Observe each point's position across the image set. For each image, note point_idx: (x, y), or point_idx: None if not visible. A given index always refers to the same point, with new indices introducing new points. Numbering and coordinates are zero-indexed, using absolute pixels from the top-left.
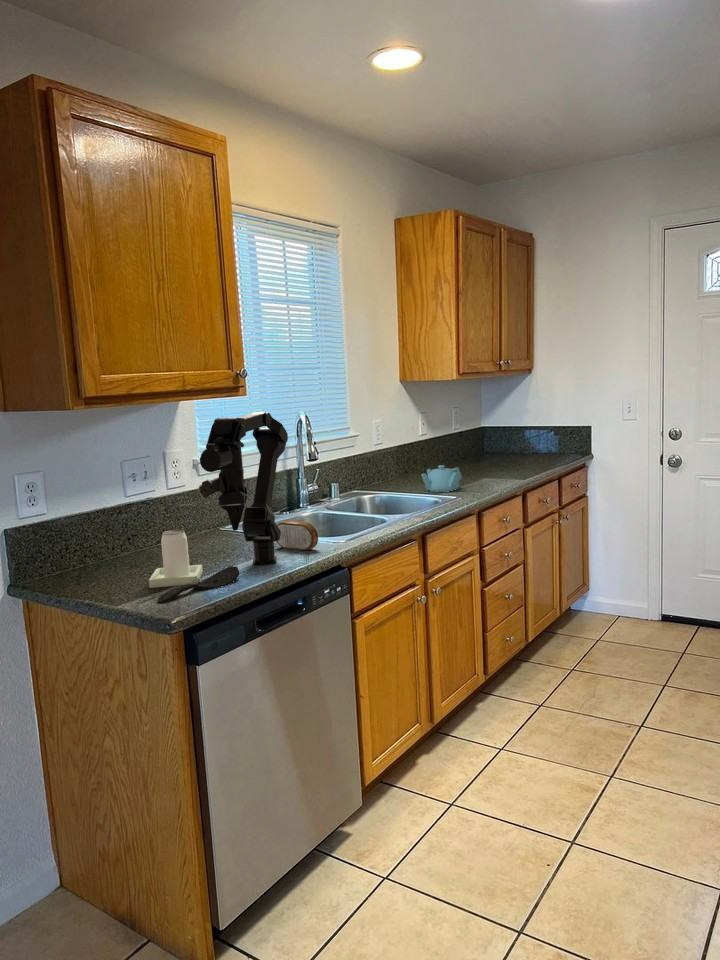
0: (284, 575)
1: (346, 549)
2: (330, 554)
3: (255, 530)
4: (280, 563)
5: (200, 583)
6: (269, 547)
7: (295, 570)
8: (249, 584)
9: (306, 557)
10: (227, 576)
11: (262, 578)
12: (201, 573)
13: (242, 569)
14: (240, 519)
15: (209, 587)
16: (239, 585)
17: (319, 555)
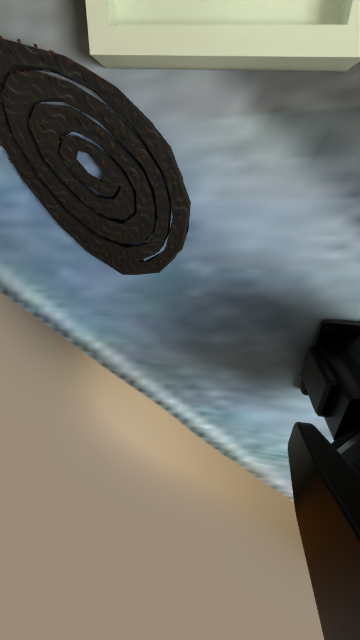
0: (139, 390)
1: None
2: None
3: (352, 457)
4: (295, 398)
5: (74, 87)
6: (326, 420)
7: (184, 419)
8: (60, 294)
9: None
10: (116, 222)
11: (123, 335)
12: (284, 68)
13: (282, 278)
14: (293, 490)
15: (3, 143)
16: (52, 262)
17: None
